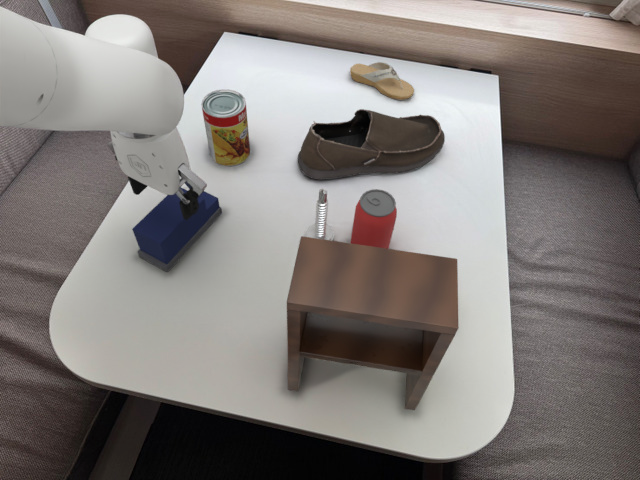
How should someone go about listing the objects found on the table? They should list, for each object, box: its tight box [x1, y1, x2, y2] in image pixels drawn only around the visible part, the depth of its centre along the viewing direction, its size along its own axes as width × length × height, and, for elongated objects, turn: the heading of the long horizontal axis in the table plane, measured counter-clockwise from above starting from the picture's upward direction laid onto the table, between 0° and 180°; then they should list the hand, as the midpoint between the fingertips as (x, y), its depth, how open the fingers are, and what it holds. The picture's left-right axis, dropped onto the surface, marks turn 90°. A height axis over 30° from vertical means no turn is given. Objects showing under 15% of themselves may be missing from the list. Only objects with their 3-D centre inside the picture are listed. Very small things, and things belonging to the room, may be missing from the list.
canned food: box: [200, 88, 251, 167], centre depth 98 cm, size 8×8×12 cm
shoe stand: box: [286, 236, 459, 411], centre depth 66 cm, size 18×9×24 cm, turn 82°
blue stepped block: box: [131, 186, 223, 273], centre depth 87 cm, size 15×6×7 cm, turn 151°
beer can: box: [349, 188, 398, 249], centre depth 85 cm, size 7×7×12 cm
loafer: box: [297, 108, 446, 180], centre depth 99 cm, size 11×30×11 cm, turn 110°
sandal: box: [349, 61, 415, 101], centre depth 116 cm, size 7×16×5 cm, turn 65°
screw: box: [305, 188, 335, 241], centre depth 85 cm, size 13×5×5 cm
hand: (166, 200), depth 81 cm, fingers open, 9 cm apart
